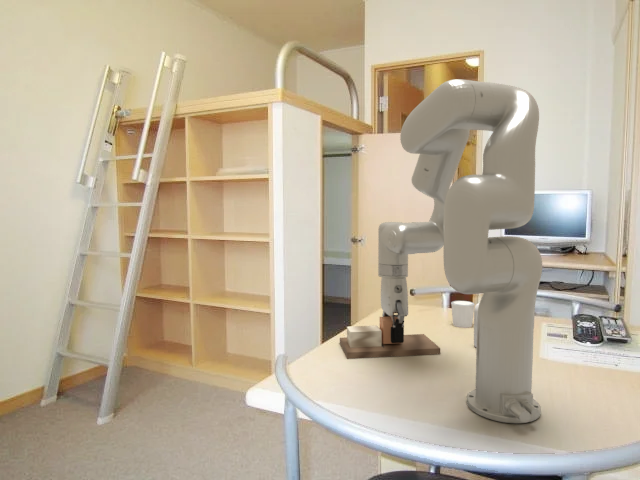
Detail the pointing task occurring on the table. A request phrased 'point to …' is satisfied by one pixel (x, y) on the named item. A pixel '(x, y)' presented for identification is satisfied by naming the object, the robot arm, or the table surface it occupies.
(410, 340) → the ticket board
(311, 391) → the table surface
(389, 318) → the stub
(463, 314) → the white cup
